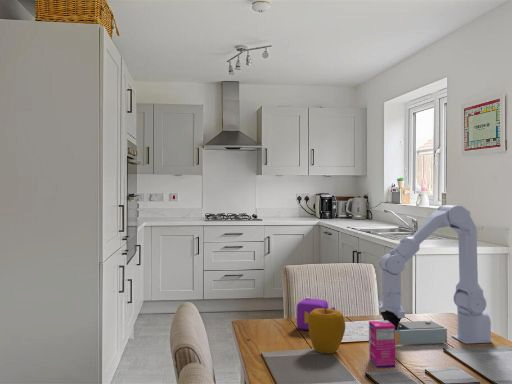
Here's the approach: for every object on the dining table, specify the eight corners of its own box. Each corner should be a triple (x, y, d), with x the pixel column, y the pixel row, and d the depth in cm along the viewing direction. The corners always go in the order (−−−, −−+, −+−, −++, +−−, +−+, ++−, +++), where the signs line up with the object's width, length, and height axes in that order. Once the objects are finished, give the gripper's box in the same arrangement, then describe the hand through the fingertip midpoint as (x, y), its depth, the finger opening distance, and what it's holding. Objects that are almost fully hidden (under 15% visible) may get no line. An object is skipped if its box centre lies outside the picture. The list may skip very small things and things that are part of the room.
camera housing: (431, 335, 161) (431, 318, 161) (443, 343, 153) (443, 325, 153) (394, 337, 159) (394, 320, 159) (405, 344, 151) (406, 326, 151)
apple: (347, 347, 148) (347, 305, 148) (341, 358, 138) (341, 313, 138) (312, 343, 152) (312, 302, 152) (304, 354, 142) (304, 310, 142)
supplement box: (368, 360, 136) (368, 320, 137) (388, 360, 137) (388, 319, 137) (374, 368, 131) (375, 325, 131) (396, 367, 131) (396, 325, 131)
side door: (445, 341, 153) (445, 328, 153) (448, 343, 151) (448, 329, 151) (390, 344, 150) (390, 330, 150) (392, 345, 148) (392, 331, 148)
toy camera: (336, 334, 163) (336, 304, 163) (295, 331, 165) (295, 302, 165) (337, 325, 173) (337, 297, 173) (299, 323, 176) (299, 295, 176)
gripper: (370, 288, 160) (370, 329, 160) (389, 297, 146) (389, 342, 146) (390, 287, 161) (390, 328, 161) (411, 296, 147) (411, 341, 147)
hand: (391, 335), depth 154 cm, fingers closed
